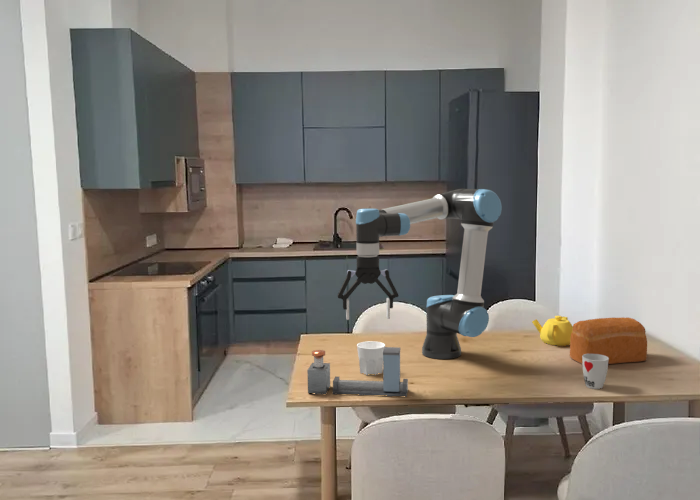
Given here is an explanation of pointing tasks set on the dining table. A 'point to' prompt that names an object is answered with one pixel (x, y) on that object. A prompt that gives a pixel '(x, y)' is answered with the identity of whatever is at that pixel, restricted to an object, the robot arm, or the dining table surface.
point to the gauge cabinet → (319, 379)
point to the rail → (369, 392)
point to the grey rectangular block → (391, 369)
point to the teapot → (555, 331)
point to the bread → (609, 340)
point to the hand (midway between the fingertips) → (367, 318)
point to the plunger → (318, 358)
